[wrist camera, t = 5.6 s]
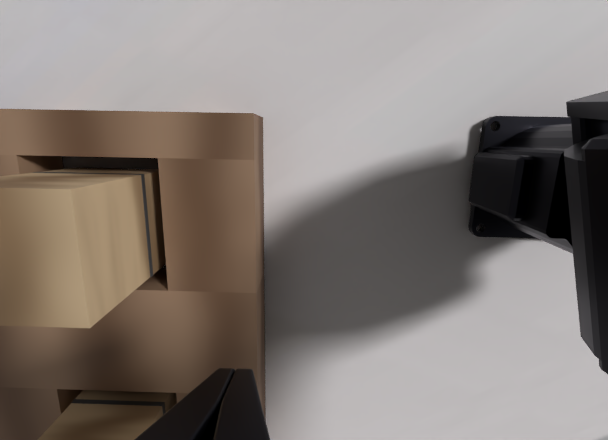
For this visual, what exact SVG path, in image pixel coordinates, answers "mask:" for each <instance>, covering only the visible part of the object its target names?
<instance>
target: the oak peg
mask: <svg viewBox="0 0 608 440" xmlns="http://www.w3.org/2000/svg"><path fill="white" fill-rule="evenodd" d="M176 404H177V397H176V393H165V392H133V391H102V390H83V391H82V392H81V393H80V394H79V395H78V396H77V397H76V398H75V399H74V400H73V401H72V402H71V404H70V405H69V406H68V407H67V408H66V409H65V410H64V412H63V413H62V414H61V415H60V416H59V417H58V418H57V419H56V420H55V421H54V423H53V424H52V425H51V426H50V427H49V428H48V429H47V430H46V431H45V432H44V433H43V435H42V436H41V437H40V438H39V439H38V440H134V439H135V438H137V437H138V436H139V435H140V434H141V433H143V432H144V431H145V430H146V429H147V428H148V427H150V426H151V425H152V424H153V423H154V422H156V421H157V420H158V419H159V418H160V417H161V416H163V415H164V414H165V413H166V412H167V411H169V410H170V409H171V408H172V407H173V406H174V405H176Z"/></svg>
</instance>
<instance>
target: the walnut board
mask: <svg viewBox="0 0 608 440" xmlns="http://www.w3.org/2000/svg"><path fill="white" fill-rule="evenodd" d="M62 156H82V157H131V158H158V169H127V168H79V167H77V168H69V169H64V168H63V161H62ZM165 264H166V269H160V268H162V267H163V266H164V265H165ZM218 368H234V369H235V370H236V369H238V368H244V369H252V370H253V373H254V377H255V381H256V385H257V389H258V393H259V397H260V401H261V405H262V409H263V413H264V417H265V303H264V189H263V117H260V116H258V115H256V114H254V113H199V112H143V111H87V110H31V109H0V440H38V439H39V438H40V437H41V436H42V435H43V433H44V432H45V431H46V430H47V429H48V428H49V427H50V426H51V425H52V424H53V423H54V421H55V420H56V419H57V418H58V417H59V416H60V415H61V414H62V413H63V412H64V410H65V409H66V408H67V407H68V406H69V405H70V404H71V402H72V401H73V400H74V399H75V398H76V397H77V396H78V395H79V394H80V393H81V392H82V391H83V390H102V391H133V392H165V393H176V397H177V403H178V402H179V401H180V400H181V399H183V398H184V397H185V396H186V395H187V394H189V393H190V392H191V391H192V390H193V389H194V388H196V387H197V386H198V385H199V384H200V383H202V382H203V381H204V380H205V379H206V378H207V377H209V376H210V375H211V374H212V373H213V372H215V371H216V370H217V369H218ZM265 421H266V417H265Z"/></svg>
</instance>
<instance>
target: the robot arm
mask: <svg viewBox="0 0 608 440" xmlns="http://www.w3.org/2000/svg"><path fill="white" fill-rule="evenodd" d="M566 105H567V116H568V117H517V116H494V117H489V118H487V119H486V120H485V121H484V122H483V125H482V131H481V138H480V145H479V153H478V154H477V155H476V156H475V157H474V164H473V171H472V179H471V187H470V194H469V201H470V203H471V204H472V205H471V213H470V220H469V230H470V232H471V233H472V234H474V235H476V236H479V237H512V238H538V239H540V240H543V241H545V242H547V243H550V244H552V245H554V246H557V247H559V248H561V249H563V250H566V251H568V252H570V253H573V257H574V268H575V278H576V289H577V300H578V310H579V321H580V332H581V337H582V339H583V340H584V341H585V343H586V344H587V345H588V347H589V348H590V350H591V351H592V352H593V354H594V355H595V356H596V357H597V358H599V367H600V368H601V369H602V370H603V371H604V372H606V373H607V374H608V91H605V92H602V93H598V94H594V95H590V96H586V97H583V98H579V99H575V100H571V101H568V102H566ZM493 122H495V123H496V129H495V130H494V131H492V130H491V123H493ZM479 224H482V228H481V229H480V230H478V231H477V230H476V227H477V226H478V225H479ZM134 440H270V438H269V433H268V429H267V425H266V421H265V417H264V413H263V409H262V405H261V401H260V397H259V393H258V389H257V385H256V381H255V377H254V373H253V370H252V369H244V368H238V369H236V370H235V369H234V368H218V369H217V370H216V371H215V372H213V373H212V374H211V375H210V376H209V377H207V378H206V379H205V380H204V381H203V382H202V383H200V384H199V385H198V386H197V387H196V388H194V389H193V390H192V391H191V392H190V393H189V394H187V395H186V396H185V397H184V398H183V399H181V400H180V401H179V402H178V403H177V404H176V405H174V406H173V407H172V408H171V409H170V410H169V411H167V412H166V413H165V414H164V415H163V416H161V417H160V418H159V419H158V420H157V421H156V422H154V423H153V424H152V425H151V426H150V427H148V428H147V429H146V430H145V431H144V432H143V433H141V434H140V435H139V436H138V437H137V438H135V439H134Z"/></svg>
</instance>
